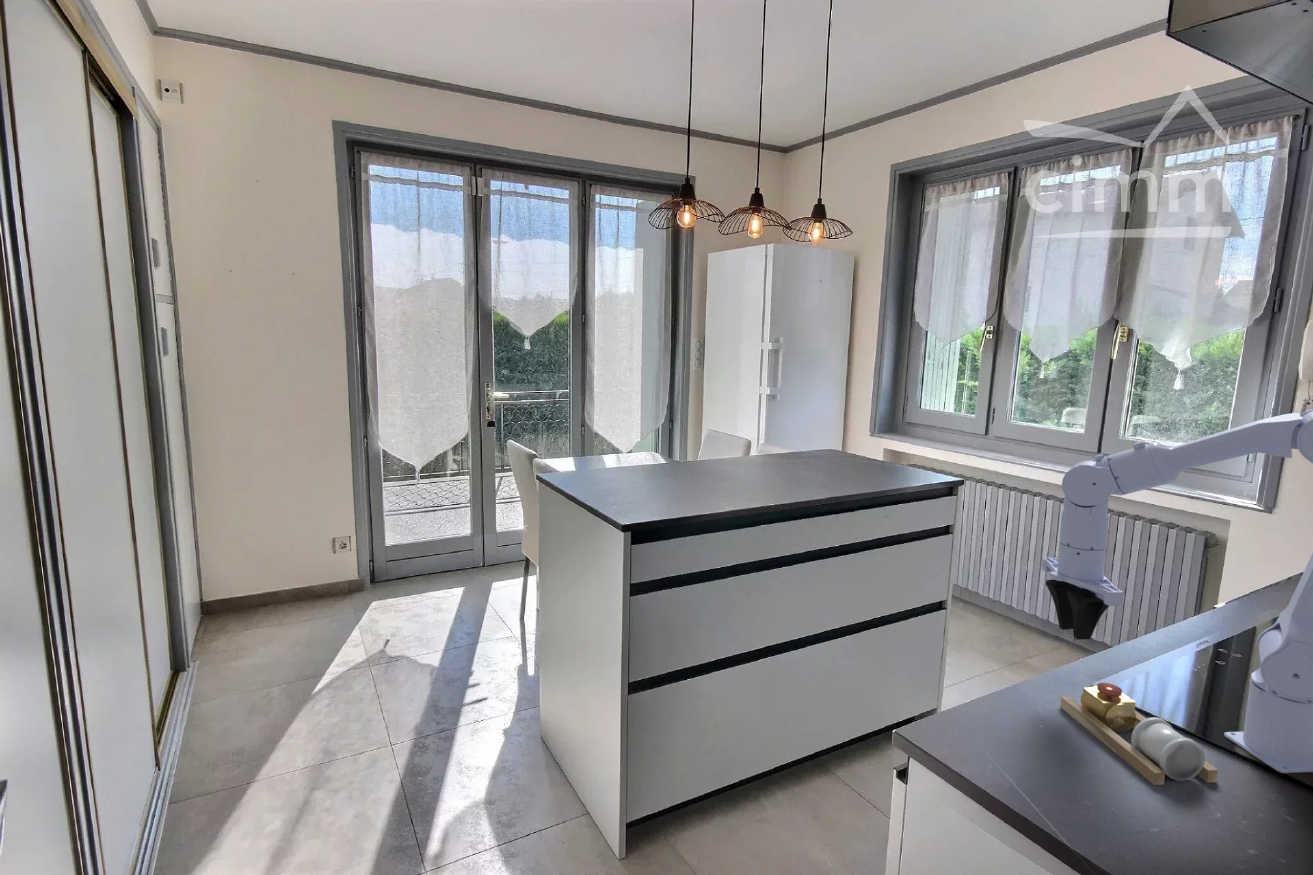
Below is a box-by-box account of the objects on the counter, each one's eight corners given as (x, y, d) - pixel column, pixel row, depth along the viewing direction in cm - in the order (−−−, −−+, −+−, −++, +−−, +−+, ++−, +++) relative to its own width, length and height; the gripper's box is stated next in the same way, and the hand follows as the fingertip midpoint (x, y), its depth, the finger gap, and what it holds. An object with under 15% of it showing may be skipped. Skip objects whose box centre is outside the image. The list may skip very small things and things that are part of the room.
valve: (1078, 711, 94) (1081, 678, 93) (1108, 710, 94) (1111, 677, 94) (1104, 733, 89) (1107, 698, 88) (1136, 731, 89) (1139, 697, 89)
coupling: (1129, 755, 84) (1133, 717, 83) (1168, 754, 84) (1172, 716, 84) (1161, 781, 79) (1165, 741, 78) (1202, 779, 80) (1207, 739, 79)
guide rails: (1112, 704, 96) (1113, 694, 96) (1216, 782, 79) (1218, 769, 79) (1060, 706, 95) (1061, 696, 95) (1154, 785, 79) (1155, 772, 78)
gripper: (1025, 530, 103) (1019, 614, 105) (1091, 561, 89) (1082, 657, 90) (1069, 529, 103) (1062, 612, 105) (1141, 560, 89) (1132, 655, 91)
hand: (1074, 633), depth 98 cm, fingers open, 3 cm apart
